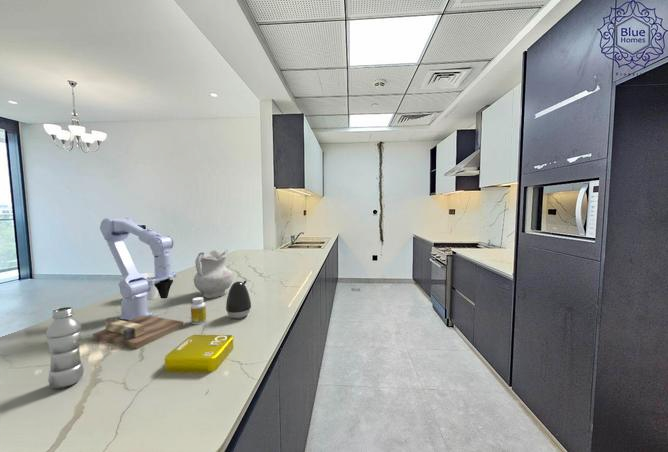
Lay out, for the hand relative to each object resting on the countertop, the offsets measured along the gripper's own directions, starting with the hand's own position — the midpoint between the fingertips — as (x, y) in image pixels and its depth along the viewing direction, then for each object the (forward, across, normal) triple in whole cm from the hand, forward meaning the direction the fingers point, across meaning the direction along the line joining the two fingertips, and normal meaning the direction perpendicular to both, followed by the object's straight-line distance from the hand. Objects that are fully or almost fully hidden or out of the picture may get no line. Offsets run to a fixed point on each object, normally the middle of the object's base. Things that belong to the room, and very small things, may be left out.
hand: (164, 297), depth 111 cm
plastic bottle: (+10, -41, -3) cm, 43 cm away
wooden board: (+9, -12, +1) cm, 15 cm away
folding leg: (+7, -16, +4) cm, 18 cm away
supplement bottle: (+10, -1, -15) cm, 18 cm away
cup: (+10, +27, +29) cm, 41 cm away
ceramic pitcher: (+10, +33, -3) cm, 35 cm away
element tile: (+10, -27, -32) cm, 43 cm away
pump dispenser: (+10, +6, -29) cm, 31 cm away
